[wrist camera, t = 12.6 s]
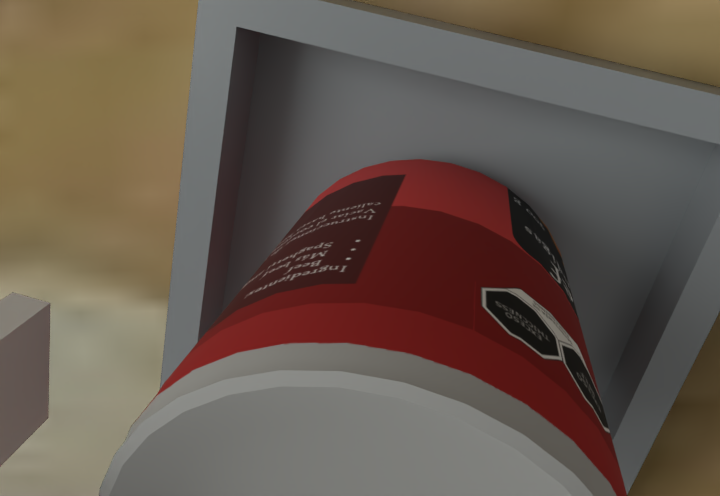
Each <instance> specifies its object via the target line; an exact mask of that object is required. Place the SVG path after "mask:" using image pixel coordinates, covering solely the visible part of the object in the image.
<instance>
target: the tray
mask: <svg viewBox="0 0 720 496" xmlns="http://www.w3.org/2000/svg"><path fill="white" fill-rule="evenodd" d="M413 159H424V160H432V161H439V162H447V163H452V164H455V165H459V166H462V167H465V168H468V169H471V170H474V171H477V172H480V173H482V174H484V175H486V176H487V177H489V178H491V179H493V180H495V181H497V182H498V183H500V184H502V185H504V186H506V187H507V188H508V189H510V190H511V191H512V192H513V193H515V194H516V195H517V196H518V197H519V198H521V199H522V200H523V201H524V202H526V203H527V204H528V205H529V206H530V207H531V208H532V209H533V211H534V212H535V213H536V214H537V216H538V217H539V218H540V219H541V220H542V222H543V223H544V224H545V225H546V226H547V228H548V230H549V231H550V233H551V235H552V237H553V239H554V241H555V243H556V245H557V247H558V249H559V251H560V253H561V257H562V260H563V264H564V268H565V271H566V275H567V278H568V282H569V286H570V289H571V293H572V297H573V300H574V304H575V307H576V311H577V315H578V318H579V322H580V326H581V329H582V333H583V336H584V340H585V344H586V347H587V351H588V355H589V358H590V362H591V365H592V369H593V373H594V376H595V380H596V384H597V387H598V391H599V394H600V398H601V402H602V405H603V409H604V413H605V416H606V420H607V423H608V427H609V431H610V434H611V438H612V442H613V445H614V449H615V452H616V456H617V460H618V463H619V467H620V471H621V474H622V478H623V482H624V486H625V490H626V493H627V494H628V492H629V490H630V488H631V486H632V484H633V482H634V480H635V478H636V476H637V474H638V472H639V470H640V468H641V466H642V465H643V463H644V461H645V459H646V457H647V455H648V453H649V451H650V449H651V447H652V445H653V443H654V441H655V439H656V437H657V435H658V433H659V431H660V429H661V427H662V425H663V423H664V421H665V419H666V417H667V415H668V413H669V411H670V409H671V407H672V405H673V403H674V401H675V399H676V397H677V395H678V393H679V391H680V389H681V387H682V385H683V383H684V381H685V379H686V377H687V375H688V373H689V371H690V369H691V367H692V365H693V363H694V361H695V359H696V357H697V355H698V353H699V351H700V349H701V347H702V346H703V344H704V342H705V340H706V338H707V336H708V334H709V332H710V330H711V328H712V326H713V324H714V322H715V320H716V318H717V316H718V314H719V312H720V87H716V86H712V85H708V84H703V83H699V82H695V81H691V80H687V79H682V78H678V77H674V76H670V75H665V74H661V73H657V72H653V71H648V70H644V69H640V68H636V67H632V66H627V65H623V64H619V63H615V62H610V61H606V60H602V59H598V58H594V57H589V56H585V55H581V54H577V53H572V52H568V51H564V50H560V49H556V48H551V47H547V46H543V45H539V44H534V43H530V42H526V41H522V40H517V39H513V38H509V37H505V36H501V35H496V34H492V33H488V32H484V31H479V30H475V29H471V28H467V27H463V26H458V25H454V24H450V23H446V22H441V21H437V20H433V19H429V18H425V17H420V16H416V15H412V14H408V13H403V12H399V11H395V10H391V9H386V8H382V7H378V6H374V5H370V4H365V3H361V2H357V1H353V0H199V2H198V12H197V22H196V32H195V42H194V52H193V62H192V72H191V82H190V92H189V102H188V112H187V122H186V132H185V142H184V152H183V162H182V172H181V182H180V192H179V202H178V212H177V223H176V233H175V243H174V253H173V263H172V273H171V283H170V293H169V303H168V313H167V323H166V333H165V343H164V353H163V363H162V373H161V383H160V389H161V387H162V386H163V384H164V383H165V382H166V380H167V379H168V378H169V377H170V375H171V374H172V373H173V372H174V371H175V369H176V368H177V367H178V366H179V365H180V363H181V362H182V361H183V360H184V358H185V357H186V356H187V355H188V354H189V352H190V351H191V350H192V349H193V347H194V346H195V345H196V344H197V343H198V341H199V340H200V339H201V338H202V337H203V335H204V334H205V333H206V332H207V330H208V329H209V328H210V327H211V326H212V324H213V323H214V322H215V321H216V320H217V318H218V317H219V316H220V315H221V313H222V312H223V311H224V310H225V309H226V307H227V306H228V305H229V304H230V302H231V301H232V300H233V299H234V298H235V296H236V295H237V294H238V293H239V292H240V290H241V289H242V288H243V287H244V285H245V284H246V283H247V282H248V281H249V279H250V278H251V277H252V276H253V275H254V273H255V272H256V271H257V270H258V268H259V267H260V266H261V265H262V264H263V262H264V261H265V260H266V259H267V257H268V256H269V255H270V254H271V253H272V251H273V250H274V249H275V248H276V247H277V245H278V244H279V243H280V242H281V240H282V239H283V238H284V237H285V236H286V234H287V233H288V232H289V231H290V230H291V228H292V227H293V226H294V225H295V223H296V222H297V221H298V220H299V219H300V217H301V216H302V215H303V214H304V212H305V211H306V210H307V209H308V208H309V206H310V205H311V204H312V203H313V202H314V200H315V199H316V198H317V197H318V196H319V195H320V194H321V193H322V192H324V191H325V190H326V189H328V188H329V187H330V186H331V185H333V184H334V183H335V182H337V181H338V180H339V179H341V178H343V177H345V176H348V175H350V174H352V173H354V172H356V171H358V170H360V169H362V168H365V167H368V166H372V165H376V164H380V163H384V162H388V161H395V160H413Z"/></svg>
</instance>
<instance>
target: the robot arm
mask: <svg viewBox="0 0 720 496" xmlns="http://www.w3.org/2000/svg"><path fill="white" fill-rule="evenodd" d="M49 346H50V303H49V302H46V301H42V300H38V299H35V298H31V297H28V296H24V295H20V294H17V293H13V292H12V293H11V294H9V295H8V296H6V297H5V298H3V299H2V300H0V466H1V465H2V464H3V463H4V462H5V461H6V460H7V459H8V458H9V457H10V456H11V455H12V454H13V453H14V452H15V451H16V450H17V449H18V448H19V447H20V446H21V445H22V444H23V443H24V442H25V441H26V440H27V439H28V438H29V437H30V436H31V435H32V434H33V433H34V432H35V431H36V430H37V429H38V428H39V427H40V426H41V425H42V424H43V423H44V422H45V421H46V420H47V419H48V402H49Z"/></svg>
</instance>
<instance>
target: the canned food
mask: <svg viewBox="0 0 720 496" xmlns="http://www.w3.org/2000/svg"><path fill="white" fill-rule="evenodd" d="M99 496H627V493H626V490H625V486H624V482H623V478H622V474H621V471H620V467H619V463H618V460H617V456H616V452H615V449H614V445H613V442H612V438H611V434H610V431H609V427H608V423H607V420H606V416H605V413H604V409H603V405H602V402H601V398H600V394H599V391H598V387H597V384H596V380H595V376H594V373H593V369H592V365H591V362H590V358H589V355H588V351H587V347H586V344H585V340H584V336H583V333H582V329H581V326H580V322H579V318H578V315H577V311H576V307H575V304H574V300H573V297H572V293H571V289H570V286H569V282H568V278H567V275H566V271H565V268H564V264H563V260H562V257H561V253H560V251H559V249H558V247H557V245H556V243H555V241H554V239H553V237H552V235H551V233H550V231H549V230H548V228H547V226H546V225H545V224H544V223H543V222H542V220H541V219H540V218H539V217H538V216H537V214H536V213H535V212H534V211H533V209H532V208H531V207H530V206H529V205H528V204H527V203H526V202H524V201H523V200H522V199H521V198H519V197H518V196H517V195H516V194H515V193H513V192H512V191H511V190H510V189H508V188H507V187H506V186H504V185H502V184H500V183H498V182H497V181H495V180H493V179H491V178H489V177H487V176H486V175H484V174H482V173H480V172H477V171H474V170H471V169H468V168H465V167H462V166H459V165H455V164H452V163H447V162H439V161H432V160H424V159H413V160H395V161H388V162H384V163H380V164H376V165H372V166H368V167H365V168H362V169H360V170H358V171H356V172H354V173H352V174H350V175H348V176H345V177H343V178H341V179H339V180H338V181H337V182H335V183H334V184H333V185H331V186H330V187H329V188H328V189H326V190H325V191H324V192H322V193H321V194H320V195H319V196H318V197H317V198H316V199H315V200H314V202H313V203H312V204H311V205H310V206H309V208H308V209H307V210H306V211H305V212H304V214H303V215H302V216H301V217H300V219H299V220H298V221H297V222H296V223H295V225H294V226H293V227H292V228H291V230H290V231H289V232H288V233H287V234H286V236H285V237H284V238H283V239H282V240H281V242H280V243H279V244H278V245H277V247H276V248H275V249H274V250H273V251H272V253H271V254H270V255H269V256H268V257H267V259H266V260H265V261H264V262H263V264H262V265H261V266H260V267H259V268H258V270H257V271H256V272H255V273H254V275H253V276H252V277H251V278H250V279H249V281H248V282H247V283H246V284H245V285H244V287H243V288H242V289H241V290H240V292H239V293H238V294H237V295H236V296H235V298H234V299H233V300H232V301H231V302H230V304H229V305H228V306H227V307H226V309H225V310H224V311H223V312H222V313H221V315H220V316H219V317H218V318H217V320H216V321H215V322H214V323H213V324H212V326H211V327H210V328H209V329H208V330H207V332H206V333H205V334H204V335H203V337H202V338H201V339H200V340H199V341H198V343H197V344H196V345H195V346H194V347H193V349H192V350H191V351H190V352H189V354H188V355H187V356H186V357H185V358H184V360H183V361H182V362H181V363H180V365H179V366H178V367H177V368H176V369H175V371H174V372H173V373H172V374H171V375H170V377H169V378H168V379H167V380H166V382H165V383H164V384H163V386H162V387H161V389H160V390H159V392H158V394H157V395H156V396H155V397H154V399H153V400H152V401H151V402H150V404H149V405H148V406H147V407H146V409H145V410H144V411H143V412H142V414H141V415H140V416H139V417H138V418H137V420H136V421H135V422H134V423H133V425H132V426H131V428H130V430H129V433H128V435H127V437H126V439H125V442H124V443H123V444H122V446H121V447H120V448H119V449H118V451H117V452H116V453H115V455H114V457H113V460H112V462H111V464H110V467H109V469H108V471H107V473H106V476H105V478H104V480H103V482H102V485H101V487H100V492H99Z"/></svg>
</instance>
